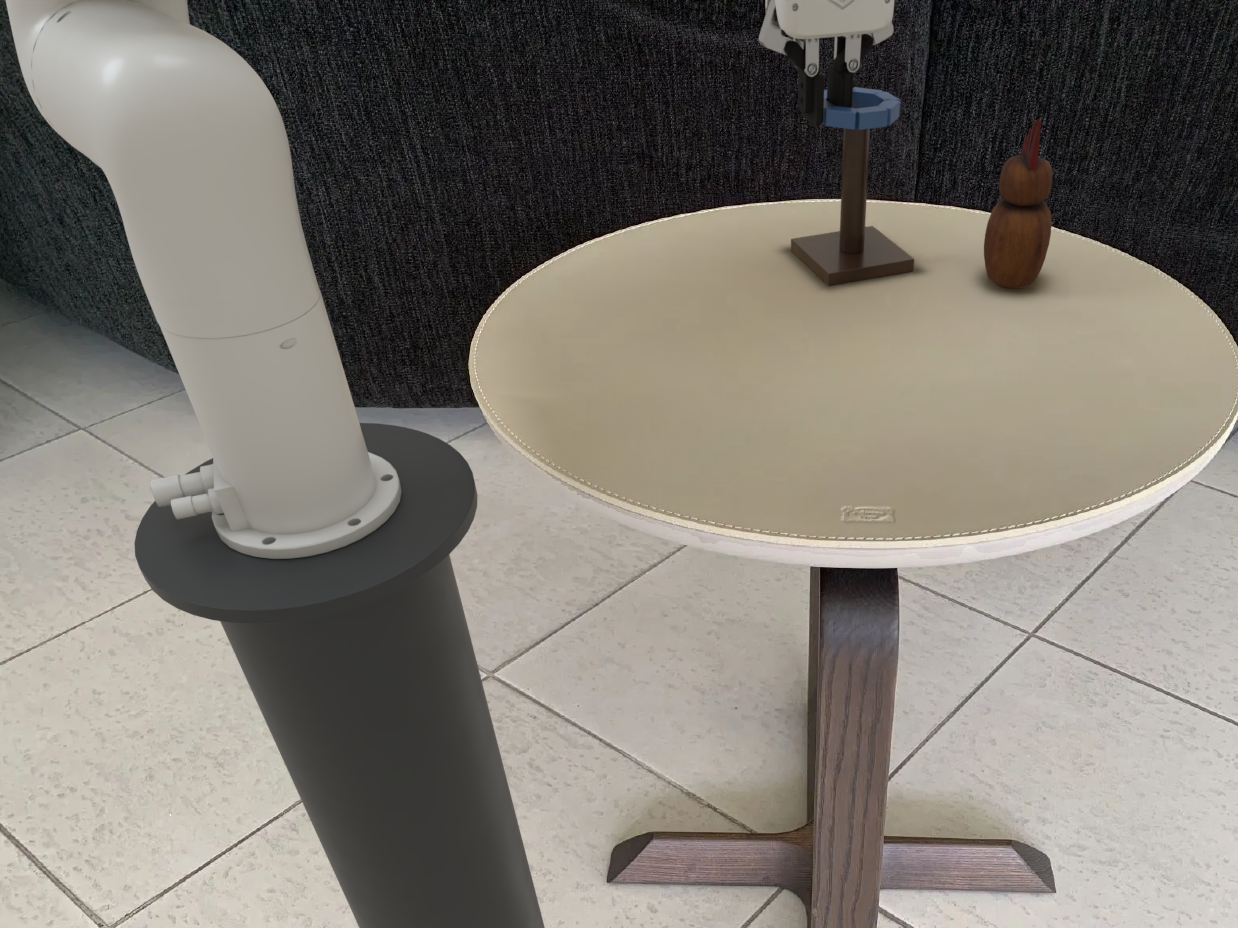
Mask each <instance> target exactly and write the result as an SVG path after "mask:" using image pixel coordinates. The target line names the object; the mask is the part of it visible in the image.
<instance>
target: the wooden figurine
mask: <svg viewBox="0 0 1238 928" xmlns="http://www.w3.org/2000/svg"><path fill="white" fill-rule="evenodd" d="M1041 126H1042V119H1038V120H1037V119H1034V120H1033V122H1032V127H1031V129H1028V133H1027V135H1025V136H1024V140H1023V144H1022V147H1021V152H1020V154H1019V155H1014V156H1012V157H1010V158H1008V159H1007V160H1006V161H1005V162H1004V164H1003V165H1002V167H1001V171H1000V176H999V183H998V190H999V194H1000V195H1001V197H1002V199H1000V200H999V201H998V202H997V203H996V204H995V206H994V207H993V208H992V210H991V212H990V215H989V217H988V220H987V224H986V228H985V233H984V241H983V259H984V266H985V271H986V275H987V277H988V279H989V280H990V281H991V282H993V284H995V285H996V286H1000V287H1002V288H1007V289H1021V288H1025V287H1027V286H1030V285H1031V284H1032V283H1033V282H1035V281H1036V280H1037V279H1038V277H1039V275H1040V273H1041V271H1042V268H1043V266H1044V264H1045V260H1046V257H1047V253H1048V250H1049V246H1050V241H1051V235H1052V224H1053V223H1052V222H1053V221H1052V213H1051V210H1050V208H1049V206H1048V204H1047V202H1046V201H1045V200H1046V199H1048V198H1049V195H1050V194H1051V190H1052V184H1053V169H1052V166H1051V163H1050V162H1049V161H1048V159H1045V158H1043V157H1040V156H1039V151H1040V149H1039V148H1040V140H1041V139H1040V138H1041V129H1042V127H1041Z"/></svg>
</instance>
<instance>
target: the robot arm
mask: <svg viewBox="0 0 1238 928" xmlns="http://www.w3.org/2000/svg"><path fill="white" fill-rule="evenodd" d="M764 1H765V2H764V3H765V7H764V8H765V15H764V19H763V23H762V25H761V28H760V32H759V35H758V42H759V44H760V45H761V46H763V47H764V48H766V49H768V50H771V51H774V52H777V53H779V54H782V55H784V56H785V57H786V58H787V59H788V61H790V63H791V64H792V65H793V67H794V68H795V69H797V70H798V87H797V89H798V90H797V91H798V95H797V96H798V98H797V105H798V106H797V107H798V111H799V112H800V113H801V116H802V118H803V119H805V120H806V121H808V123H810V124H812V125H813V126H821V123H823V110H824V90H825V77H824V76H822V75H821V74H820V39H824V38H825V39H826V38H834V42H833V43H834V45H833V47H834V48H833V60H832V64H829V65H828V68H827V79H826V82H827V83H826V90H827V98H828V101H829V102H830V103H832V104H833V105H835V106H841V107H849V108H851V106H852V95H853V88H854V73H856V72H857V71H858V70H859V69H860V65H861V62H862V60H863V59H864V58H865V57H866V55H867V54H868V53H869V52H870V50H871V49H872V48H873V46H876V45H878V44H880V43H881V42H883V41H885V40H887V39H889V38H891V37H892V36H893V34H894V30H895V29H894V25H893V18H894V11H895V0H764ZM5 4H6V9H7V14H8V19H9V24H10V29H11V34H12V37H13V42H14V47H15V51H16V54H17V59H18V63H19V66H20V70H21V73H22V77H23V80H24V83H25V85H26V88H27V91H28V93H29V95H30V97H31V99H32V101H33V103H34V105H35V106H36V108H37V110H38V111H39V113H40V115H41V116H42V117H43V119H44V120H46V122H47V124H48V125H49V126H50V127H51V128H52V130H54V132H56V133H57V134H58V135H59V136H60V137H61V138H62V139H63V140H64V141H65V142H67V143H68V144H69V145H70V146H71V147H73V148H74V149H76V150H77V152H80V153H81V154H82V155H84V156H85V157H86V158H88V159H89V160H90V161H91V162H92V163H94V165H96V166H98V168H100V169H101V170H102V172H103V173H104V175H105V177H106V179H107V182H108V184H109V186H110V188H111V190H112V193H113V195H114V198H115V200H116V203H117V206H118V207H117V208H118V209H119V213H120V216H121V219H122V224H123V228H124V231H125V235H126V239H127V242H128V246H129V250H130V253H131V256H132V259H133V262H134V265H135V268H136V271H137V274H138V277H139V280H140V283H141V285H142V288H143V291H144V293H145V295H146V297H147V300H148V303H149V305H150V307H151V310H152V313H153V315H154V318H155V320H156V322H157V324H158V325H159V327H160V330H161V333H162V335H163V337H164V340H165V342H166V345H167V347H168V350H169V352H170V355H171V357H172V360H173V362H174V364H175V367H176V369H177V372H178V375H179V377H180V379H181V381H182V384H183V387H184V390H185V392H186V394H187V396H188V399H189V402H190V404H191V406H192V409H193V411H194V413H195V416H196V419H197V421H198V424H199V426H200V429H201V431H202V433H203V436H204V438H205V441H206V443H207V446H208V448H209V451H210V453H211V456H212V458H213V464H211V465H207V466H201V467H200V472H197V473H192V474H187V475H185V474H182V475H180V474H177V475H170V476H166V477H161V478H154V479H151V480H150V489H151V493H152V495H153V498H154V501H156V503H157V505H158V506H159V507H165V506H170V505H171V507H172V510H173V513H174V516H175V517H176V519H177V520H178V519H183V518H188V517H193V516H197V515H198V514H202V513H207V512H212V520H213V523H214V526H215V528H216V531H217V533H218V535H219V537H220V538H221V540H222V541H223V542H224V543H225V544H227V545H228V546H229V547H230V548H232V549H234V550H236V551H238V552H240V553H243V554H247V555H250V556H254V557H260V558H269V559H293V558H302V557H309V556H314V555H318V554H323V553H327V552H330V551H333V550H336V549H339V548H342V547H345V546H347V545H349V544H352V543H354V542H356V541H358V540H360V539H362V538H364V537H365V536H367V535H369V534H370V533H372V532H373V531H375V530H376V529H377V528H379V527H380V526H381V525H382V524H383V523H385V522H386V521H387V520H388V519H389V517H390V516H391V515H392V514H393V513H394V512H395V510H396V508H397V506H398V504H399V502H400V498H401V493H402V491H401V485H400V481H399V478H398V475H397V472H396V470H395V469H394V468H393V466H392V465H391V464H390V463H389V462H387V461H386V460H384V459H383V458H382V457H379V456H377V455H374V454H372V453H370V452H368V451H367V447H366V444H365V441H364V437H363V434H362V431H361V427H360V424H359V423H360V421H359V417H358V414H357V410H356V407H355V404H354V400H353V397H352V393H351V390H350V387H349V383H348V380H347V377H346V373H345V370H344V367H343V366H344V365H343V364H342V359H341V356H340V352H339V349H338V347H337V346H338V345H337V342H336V340H335V335H334V332H333V329H332V326H331V322H330V319H329V315H328V312H327V309H326V305H325V301H324V298H323V296H322V295H323V294H322V292H321V290H320V286H319V284H318V280H317V276H316V273H315V270H314V267H313V262H312V259H311V256H310V252H309V249H308V245H307V241H306V237H305V233H304V229H303V226H302V221H301V216H300V211H299V204H298V199H297V192H296V188H295V187H296V184H295V177H294V170H293V162H292V154H291V148H290V142H289V138H288V134H287V131H286V127H285V123H284V120H283V116H282V114H281V113H280V109H279V107H278V105H277V103H276V101H275V99H274V97H273V95H272V94H271V92H270V89H268V87H267V85H266V84H265V82H264V80H263V79H262V78H261V77H260V76H259V74H258V73H257V71H255V69H254V68H253V67H252V66H251V65H250V64H249V63H248V62H247V61H246V60H245V59H244V57H242V56H241V55H240V54H239V53H238V52H236V51H235V50H234V49H233V48H232V47H230V46H229V45H227V44H226V43H225V42H223V40H220V39H219V38H217V37H216V36H214V35H212V34H210V33H209V32H207V31H205V30H203V29H201V28H199V27H197V26H194V25H192V24H190V23H191V21H190V16H189V8H188V0H5ZM782 31H784V33H785V34H786V35H787V36H788V37H786V36H784V35H783V34H782ZM789 37H791V38H789Z"/></svg>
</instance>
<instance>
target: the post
mask: <svg viewBox="0 0 1238 928" xmlns="http://www.w3.org/2000/svg"><path fill="white" fill-rule="evenodd" d="M842 129H843V130H842V131H843V133H842V158H841V160H842V161H841V186H840V187H841V188H840V189H841V190H840V217H839V218H840V219H839V220H840V221H839V230H838V231H837V230H836V231H832V232H825V233H819V234H814V235H807V236H800V237H794V238H791V239H790V251H791V252H792V253H793V254H794V255H795V256H796V257H797V258H798V259H799V260H801V262H802V263H804V264H805V265H806V266H807V267H808V268H809V269H810V270H811V271H812V272H813V273H814V274H815V275H816V276H817V277H818V278H819V279H820V280H822V281H823V282H824V283H825V284H826V285H827V286H828V287H830V286H834V285H840V284H841V285H842V284H847V283H852V282H853V283H854V282H857V281H858V282H859V281H864V280H868V279H875V278H880V277H886V276H891V275H898V274H903V273H908V272H913V271H914V268H915V258H914V257H912V255H910V254H909V253H908V252H906V251H905V250H903V248H901V247H900V246H898V245H897V244H896V243H895V242H894V241H892V240H891V239H890V238H888V237H887V236H886V235H885V234H883V233H882V232H881V231H880V230H879V229H877V228H876V227H875V226H873V225H870V226H866V218H867V215H866V214H867V198H868V179H869V178H868V176H869V158H870V141H871V140H870V139H871V137H870V136H871V129H863V130H859V129H857V128H856V129H855V130H852V129H844V128H842Z"/></svg>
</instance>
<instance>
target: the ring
mask: <svg viewBox="0 0 1238 928" xmlns="http://www.w3.org/2000/svg"><path fill="white" fill-rule="evenodd" d="M900 110H901V99H900V98H899V97H896V96H895V95H893V94H891V93H889V92H888V91H884V90H881V89H875V88H873V89H872V88H867V87H866V88H865V87H858V86H853V95H852V106H851V108H849V107H841V106H835V105H833V104H832V103H830V102H829V101H828V98H827V89H824V110H823V123H821V125H822V126H824V125H825V126H826V127H831V128H838V129H843V128H844V129H852V130H855V129H856V128H857V129H859V130H863V129H870V130H871V129H878V128H885V127H886V128H887V127H888V126H891V125H892V124H893V123H895V122H896V121H897V120H898V119H899V118H900ZM821 125H820V126H821Z"/></svg>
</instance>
